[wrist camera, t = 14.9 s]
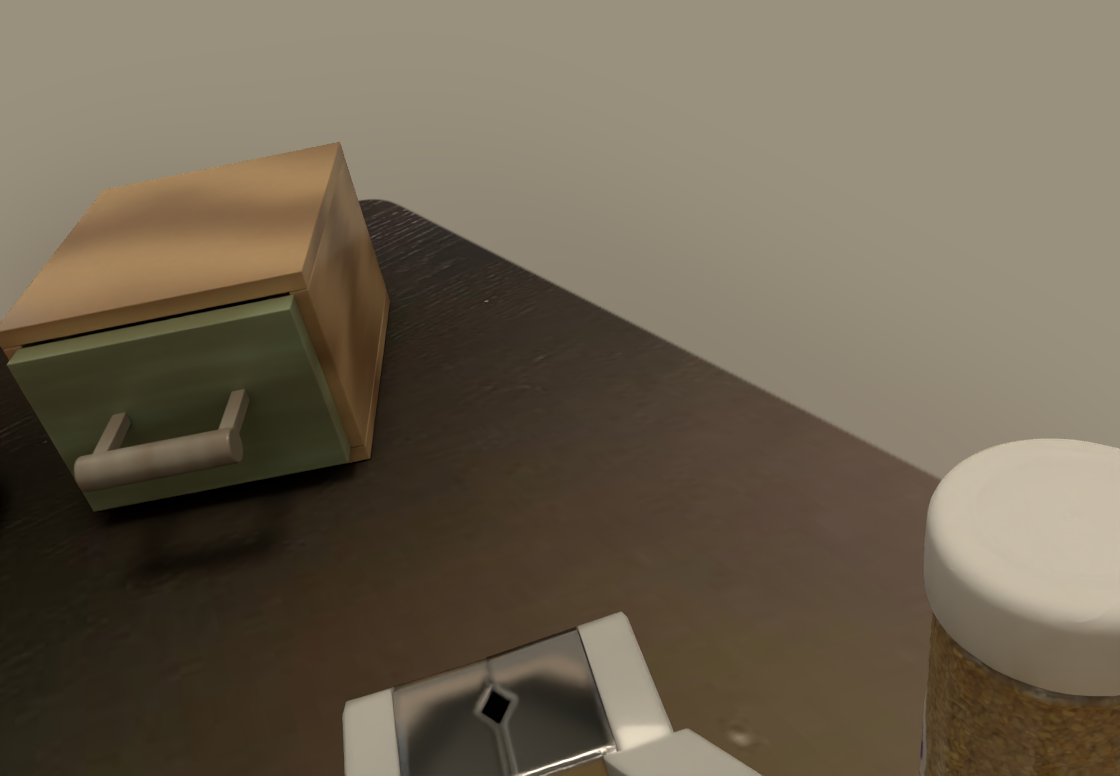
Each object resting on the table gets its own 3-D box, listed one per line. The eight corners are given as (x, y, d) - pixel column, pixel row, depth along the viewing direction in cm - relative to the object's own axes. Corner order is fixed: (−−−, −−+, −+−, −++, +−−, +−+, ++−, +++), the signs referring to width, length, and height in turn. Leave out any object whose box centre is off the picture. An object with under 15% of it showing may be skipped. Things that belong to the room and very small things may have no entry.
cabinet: (370, 459, 44) (301, 270, 39) (97, 511, 44) (-9, 332, 39) (390, 301, 56) (339, 141, 51) (175, 344, 57) (103, 189, 51)
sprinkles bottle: (906, 822, 26) (922, 424, 19) (1098, 849, 25) (1197, 429, 17) (910, 1005, 23) (931, 605, 15) (1133, 1048, 21) (1276, 630, 14)
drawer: (338, 528, 39) (272, 366, 35) (60, 581, 39) (-40, 427, 35) (372, 310, 54) (328, 177, 49) (169, 350, 54) (108, 221, 50)
